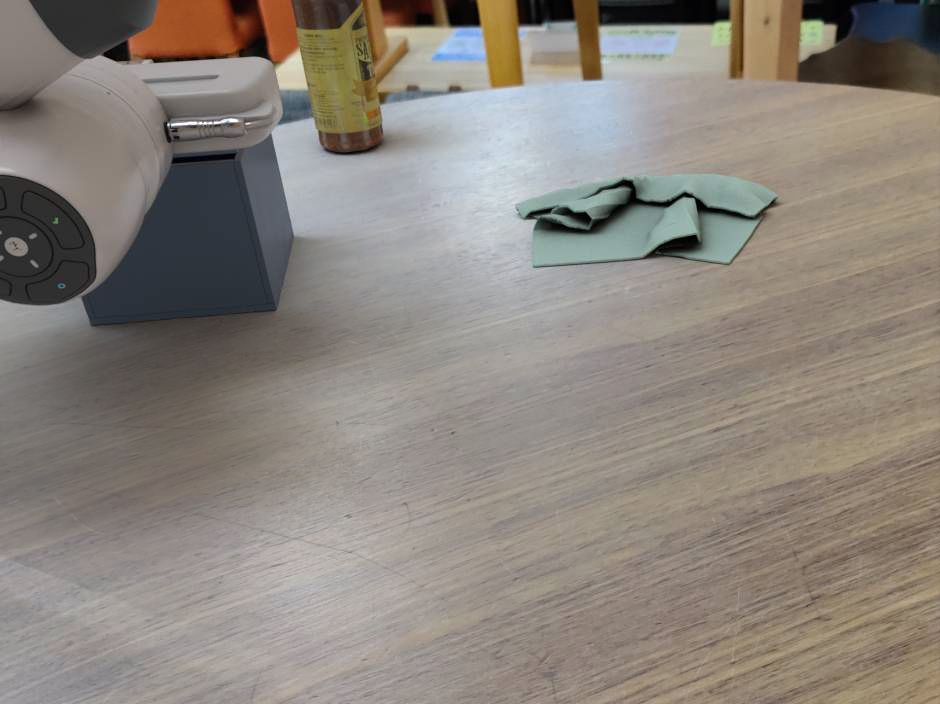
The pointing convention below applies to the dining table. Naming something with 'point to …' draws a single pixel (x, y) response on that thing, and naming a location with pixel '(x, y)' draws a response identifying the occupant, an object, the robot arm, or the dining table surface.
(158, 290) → the carton
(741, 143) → the dining table surface
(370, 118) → the sauce bottle
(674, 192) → the cloth
